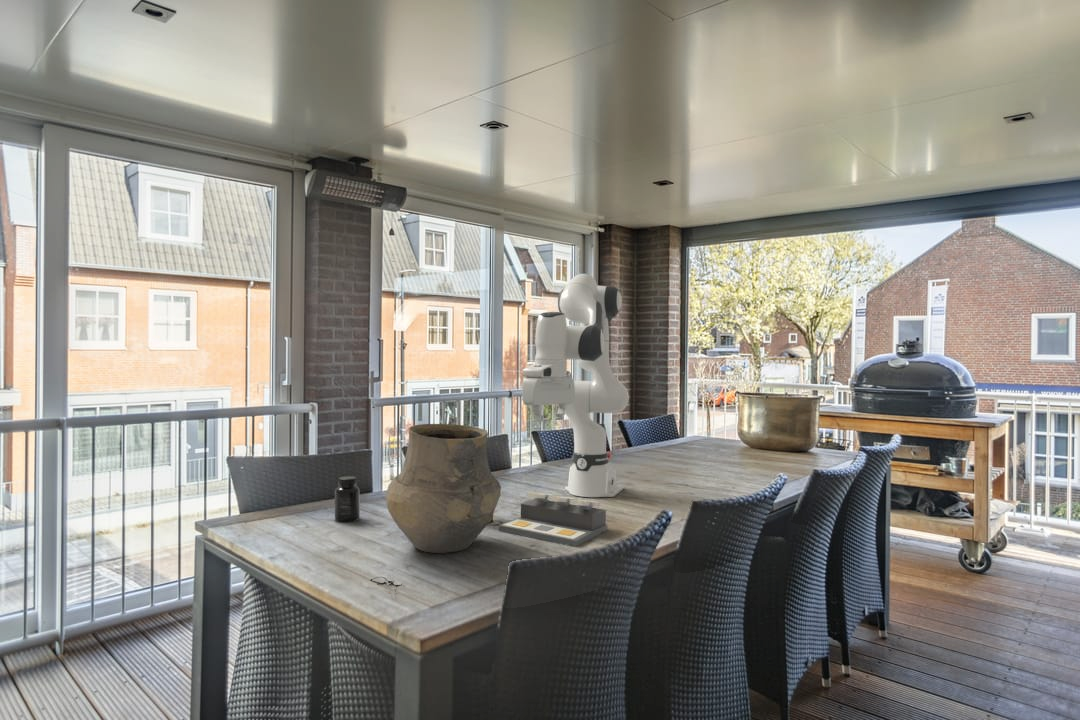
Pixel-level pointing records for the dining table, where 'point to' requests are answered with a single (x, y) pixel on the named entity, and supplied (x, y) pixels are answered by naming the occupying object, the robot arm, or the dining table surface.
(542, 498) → the switch
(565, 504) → the switch
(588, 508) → the switch
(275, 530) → the dining table surface
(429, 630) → the dining table surface
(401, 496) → the ceramic pot
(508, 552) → the dining table surface
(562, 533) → the switch unit
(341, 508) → the supplement bottle
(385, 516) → the dining table surface
